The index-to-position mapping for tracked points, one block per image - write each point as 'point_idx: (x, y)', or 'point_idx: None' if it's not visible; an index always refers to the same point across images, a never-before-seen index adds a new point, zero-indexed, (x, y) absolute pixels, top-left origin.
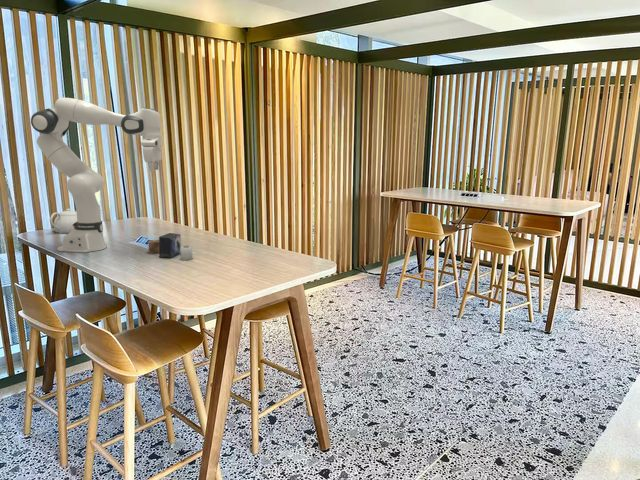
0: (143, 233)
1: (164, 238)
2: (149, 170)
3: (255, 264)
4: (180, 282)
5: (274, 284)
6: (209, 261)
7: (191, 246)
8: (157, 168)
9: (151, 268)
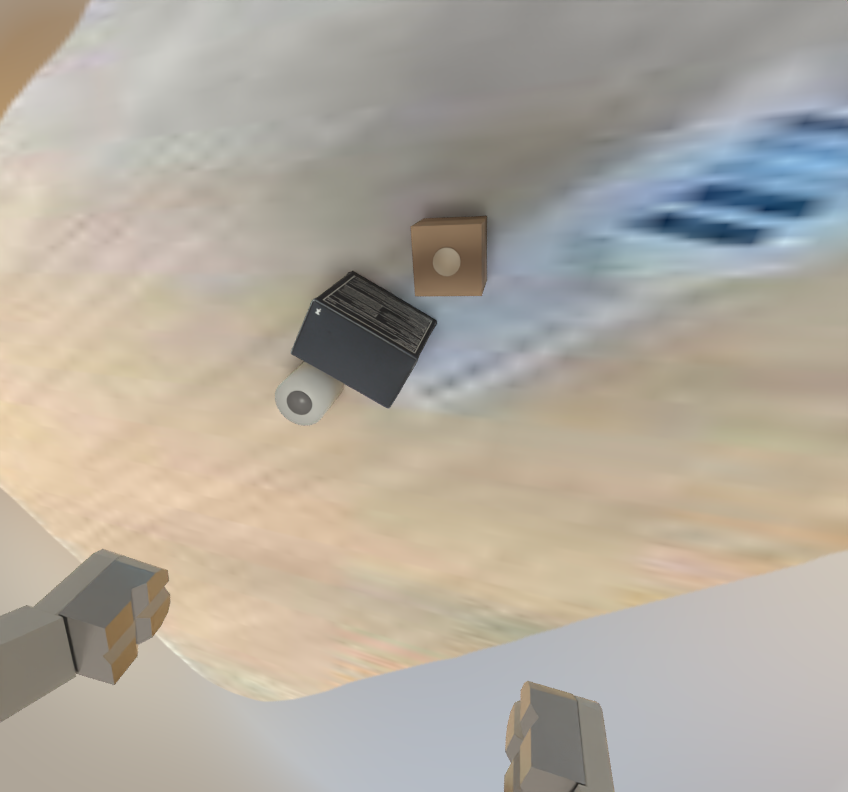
0: None
1: (302, 325)
2: (95, 553)
3: (242, 559)
4: (40, 335)
5: (70, 545)
6: (279, 449)
7: (308, 423)
8: (507, 748)
9: (181, 238)
